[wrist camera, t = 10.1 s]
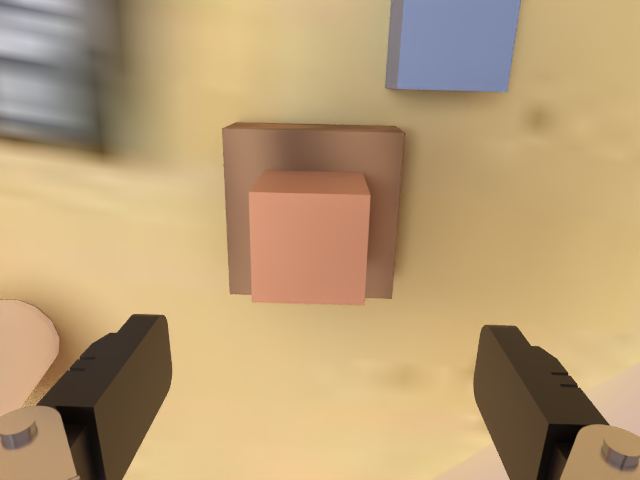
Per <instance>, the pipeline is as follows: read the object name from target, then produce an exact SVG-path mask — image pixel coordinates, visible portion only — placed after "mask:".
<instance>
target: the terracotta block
mask: <svg viewBox="0 0 640 480" xmlns="http://www.w3.org/2000/svg"><path fill="white" fill-rule="evenodd" d="M370 197H371V195H370V192H369V189H368V186H367V183H366V181H365V178H364V175H363V172H324V171H283V170H265V171H264V172H263V173H262V175H261V176H260V177H259V179H258V180H257V181H256V183H255V184H254V185H253V187H252V188H251V189H250V191H249V221H250V255H251V288H252V302H269V303H304V304H339V305H364V302H365V285H366V267H367V250H368V232H369V215H370Z"/></svg>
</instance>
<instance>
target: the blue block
mask: <svg viewBox="0 0 640 480" xmlns="http://www.w3.org/2000/svg"><path fill="white" fill-rule="evenodd" d="M520 3H521V0H391V11H390V25H389V40H388V54H387V69H386V83H385V88H392V89H415V90H450V91H484V92H507V90H508V83H509V76H510V70H511V63H512V56H513V50H514V43H515V36H516V30H517V23H518V16H519V10H520Z"/></svg>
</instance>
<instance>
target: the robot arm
mask: <svg viewBox="0 0 640 480" xmlns="http://www.w3.org/2000/svg"><path fill="white" fill-rule="evenodd" d="M171 379H172V361H171V352H170V342H169V332H168V323H167V319H166V317H165V316H164V315H150V314H133V315H132V316H131V317H130V318H129V319H128V320H127V322H126V323H125V324H124V325H123V326H122V327H121V329H120V330H119V331H118V332H117V333H109V334H107V335H106V336H104V337H102V338H101V339H99V340H97V341H96V342H94V343H92V344H91V345H90V346H89V348H88V349H87V350H86V351H85V352H84V353H83V354H82V355H81V356H80V360H77V361H76V362H75V363H74V364H73V365H72V366H71V367H70V371H67V372H66V373H65V374H64V375H63V376H62V377H61V378H60V379H59V381H58V382H57V383H56V384H55V385H54V386H53V387H52V388H51V389H50V390H49V392H48V393H47V394H46V395H45V396H44V397H43V398H42V399H41V400H40V401H39V403H38V404H37V405H36V406H31V407H25V408H21V409H17V410H14V411H11V412H9V413H6V414H4V415H2V416H0V480H122V479H123V477H124V475H125V473H126V471H127V470H128V468H129V466H130V464H131V462H132V460H133V458H134V456H135V454H136V452H137V451H138V449H139V447H140V445H141V443H142V441H143V439H144V437H145V435H146V433H147V432H148V430H149V428H150V426H151V424H152V422H153V420H154V418H155V416H156V414H157V413H158V411H159V409H160V407H161V405H162V403H163V401H164V399H165V397H166V395H167V393H168V391H169V388H170V385H171ZM474 395H475V400H476V403H477V406H478V408H479V410H480V413H481V415H482V417H483V419H484V422H485V424H486V426H487V429H488V431H489V433H490V435H491V438H492V440H493V442H494V444H495V447H496V449H497V451H498V453H499V456H500V458H501V460H502V463H503V465H504V467H505V470H506V472H507V474H508V476H509V479H510V480H640V437H639V436H637V435H635V434H633V433H631V432H629V431H626V430H623V429H621V428H618V427H613V426H610V425H609V424H608V422H607V421H606V420H605V419H604V418H603V416H602V415H601V414H600V412H599V411H598V410H597V409H596V407H595V406H594V405H593V404H592V402H591V401H590V400H589V399H588V397H587V396H586V395H585V393H584V392H583V391H582V390H581V388H578V386H577V383H576V382H575V381H574V380H573V378H572V377H571V376H568V372H567V371H566V370H565V368H564V367H563V366H562V365H561V363H560V362H559V361H558V359H557V358H555V357H554V356H552V355H551V354H549V353H548V352H546V351H545V350H543V349H542V348H540V347H539V346H531V345H530V344H529V342H528V341H527V340H526V338H525V337H524V336H523V334H522V333H521V331H520V330H519V329H518V328H517V327H516V326H505V325H484V326H483V327H482V330H481V333H480V339H479V346H478V353H477V359H476V366H475V373H474Z"/></svg>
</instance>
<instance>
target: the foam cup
mask: <svg viewBox="0 0 640 480" xmlns="http://www.w3.org/2000/svg"><path fill="white" fill-rule="evenodd" d="M58 354H59V336H58V333H57V331H56V329H55V327H54V325H53V323H52V321H51V320H50V319H49V318H48V317H47V316H46V315H44V314H43V313H42V312H41V311H40V310H39V309H38V308H36V307H34V306H32V305H29V304H27V303H24V302H22V301H19V300H0V416H2V415H4V414H6V413H9V412H11V411H14V410H17V409H20V408H21V407H22V405H23V404H24V402H25V401H26V400H27V398H28V397H29V395H30V394H31V393H32V391H33V390H34V388H35V387H36V386H37V384H38V383H39V381H40V380H41V378H42V377H43V376H44V374H45V373H46V371H47V370H48V369H49V367H50V366H51V364H52V363H53V362H54V360H55V358H56V357H57V356H58Z"/></svg>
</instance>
